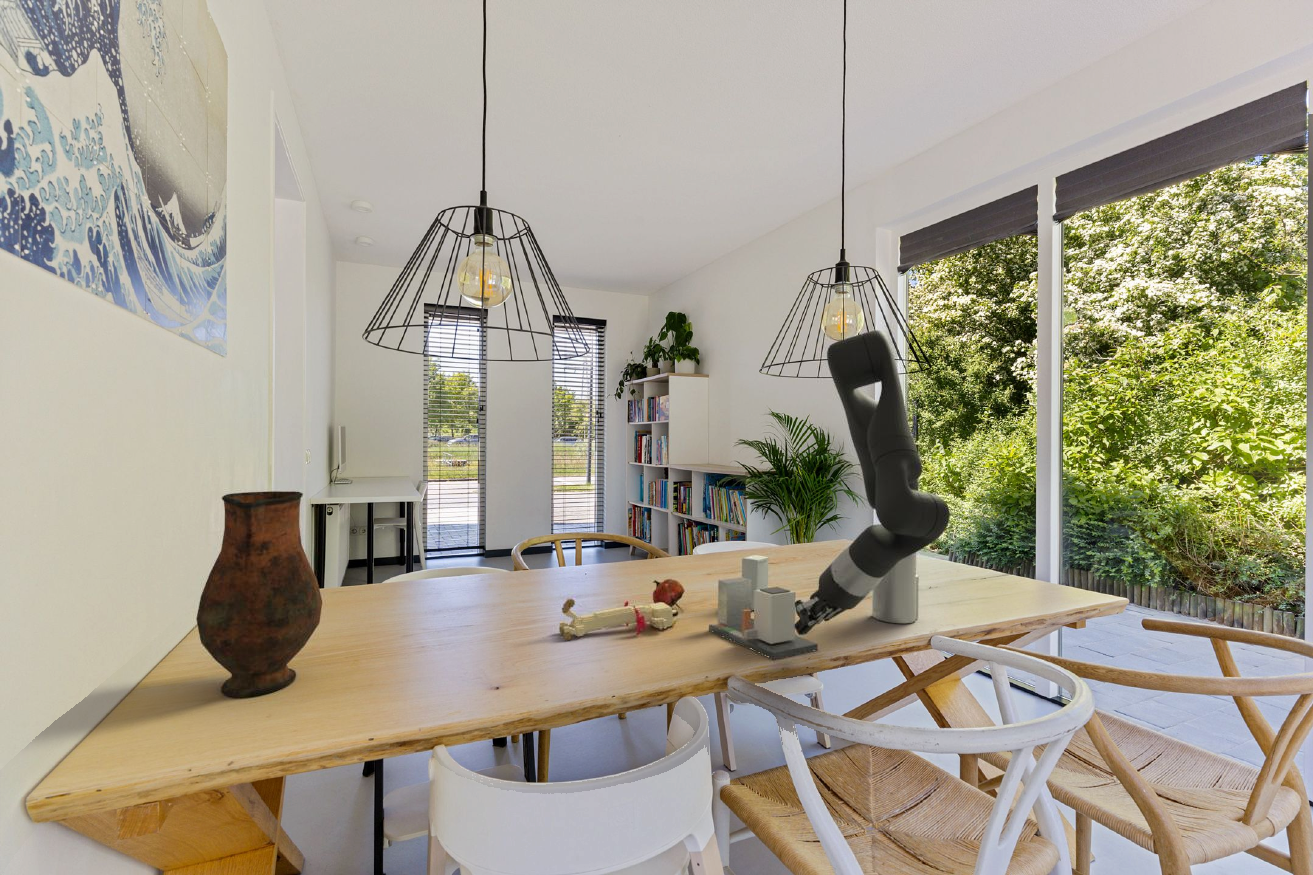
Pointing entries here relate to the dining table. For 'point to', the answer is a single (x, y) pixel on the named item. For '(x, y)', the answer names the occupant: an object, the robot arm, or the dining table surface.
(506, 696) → the dining table surface
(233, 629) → the brown clay vase
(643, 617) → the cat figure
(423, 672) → the dining table surface
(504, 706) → the dining table surface
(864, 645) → the dining table surface
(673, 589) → the pomegranate
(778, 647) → the base
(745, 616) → the peak pointer
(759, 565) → the skincare box
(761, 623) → the dark-topped white block
